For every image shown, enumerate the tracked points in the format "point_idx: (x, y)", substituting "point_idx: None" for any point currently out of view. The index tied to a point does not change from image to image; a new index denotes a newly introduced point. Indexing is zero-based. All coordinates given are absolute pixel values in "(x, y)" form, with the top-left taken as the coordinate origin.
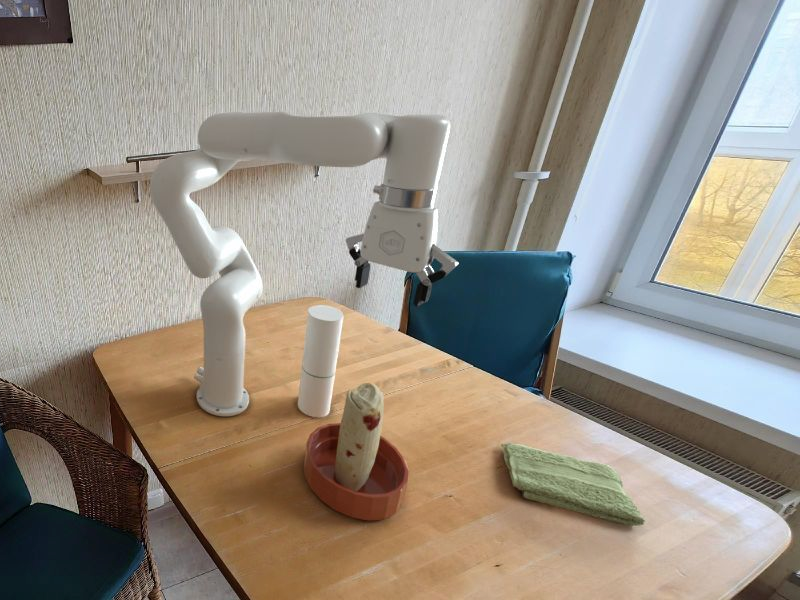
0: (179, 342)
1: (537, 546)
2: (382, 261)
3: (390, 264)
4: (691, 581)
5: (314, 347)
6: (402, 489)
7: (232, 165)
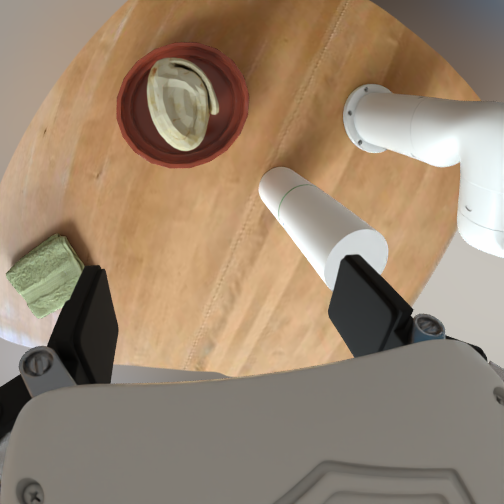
0: (451, 181)
1: (33, 183)
2: (346, 378)
3: (268, 387)
4: None
5: (329, 203)
6: (117, 102)
7: None
